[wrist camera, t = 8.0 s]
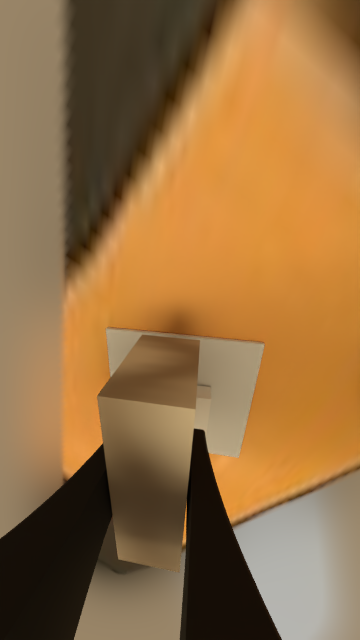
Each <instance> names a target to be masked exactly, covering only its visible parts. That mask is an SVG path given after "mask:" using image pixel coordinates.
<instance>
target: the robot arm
mask: <svg viewBox="0 0 360 640" xmlns="http://www.w3.org/2000/svg"><path fill="white" fill-rule="evenodd" d="M112 515H113V514H112V507H111V499H110V491H109V484H108V476H107V468H106V461H105V453H104V445H103V444H102V445H101V446H100V447H99V448H98V449H97V451H96V452H95V453H94V454H93V455H92V456H91V457H90V458H89V459H88V460H87V461H86V462H85V463H84V465H83V466H82V467H81V468H80V469H79V470H78V471H77V472H76V473H75V474H74V475H73V476H72V477H71V478H70V479H69V480H68V481H67V482H66V483H65V484H64V485H63V486H62V487H60V488H59V489H58V490H57V491H56V492H55V493H54V494H53V495H52V496H51V497H50V498H49V499H47V500H46V501H45V502H44V503H43V504H42V505H41V506H40V507H38V508H37V509H36V510H35V511H34V512H33V513H31V514H30V515H29V516H28V517H27V518H25V519H24V520H23V521H22V522H21V523H19V524H18V525H17V526H16V527H15V528H13V529H12V530H11V531H10V532H8V533H7V534H6V535H5V536H3V537H2V538H1V539H0V640H74V637H75V633H76V630H77V626H78V623H79V619H80V616H81V612H82V609H83V605H84V602H85V598H86V595H87V592H88V589H89V585H90V582H91V579H92V575H93V572H94V569H95V566H96V562H97V559H98V556H99V553H100V550H101V546H102V543H103V540H104V537H105V534H106V531H107V528H108V526H109V523H110V520H111V518H112ZM180 640H282V639H281V637H280V635H279V633H278V631H277V629H276V627H275V624H274V622H273V620H272V618H271V616H270V614H269V612H268V610H267V608H266V606H265V603H264V601H263V599H262V597H261V595H260V592H259V590H258V588H257V586H256V583H255V581H254V579H253V577H252V574H251V572H250V570H249V568H248V565H247V563H246V561H245V559H244V556H243V554H242V552H241V549H240V547H239V544H238V541H237V539H236V537H235V534H234V531H233V529H232V526H231V524H230V521H229V518H228V516H227V513H226V510H225V507H224V504H223V501H222V498H221V495H220V492H219V489H218V486H217V483H216V479H215V476H214V472H213V469H212V465H211V461H210V457H209V453H208V448H207V443H206V436H205V431H204V430H202V429H195V428H194V431H193V441H192V451H191V461H190V471H189V481H188V491H187V520H186V559H185V573H184V588H183V602H182V617H181V631H180Z"/></svg>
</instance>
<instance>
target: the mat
mask: <svg viewBox="0 0 360 640" xmlns="http://www.w3.org/2000/svg"><path fill="white" fill-rule="evenodd" d="M142 334H143V335H153V336H163V337H173V338H183V339H193V340H200V349H199V364H198V380H197V385H198V386H207V387H211V404H210V412H209V419H208V427H207V434H206V443H207V448H208V453H212V454H218V455H224V456H231V457H237V458H239V454H240V450H241V446H242V441H243V437H244V433H245V428H246V424H247V420H248V415H249V411H250V407H251V402H252V398H253V394H254V389H255V385H256V381H257V376H258V372H259V367H260V363H261V359H262V354H263V350H264V346H265V344H264V342H257V341H246V340H236V339H226V338H215V337H205V336H195V335H185V334H174V333H164V332H154V331H143V330H133V329H123V328H113V327H107V328H106V336H107V346H108V356H109V367H110V377H111V376H112V375H113V374H114V372H115V371H116V370H117V368H118V367H119V366H120V364H121V363H122V361H123V360H124V359H125V357H126V356H127V355H128V353H129V352H130V351H131V349H132V348H133V346H134V345H135V344H136V342H137V341H138V340H139V338H140V337H141V336H142Z"/></svg>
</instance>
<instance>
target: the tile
mask: <svg viewBox="0 0 360 640" xmlns="http://www.w3.org/2000/svg"><path fill="white" fill-rule="evenodd" d="M210 404H211V387H207V386H198V385H197V396H196V411H195V421H194V428H195V429H202V430H204V431H205V436H206V434H207V427H208V419H209V412H210Z"/></svg>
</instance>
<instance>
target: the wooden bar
mask: <svg viewBox="0 0 360 640" xmlns="http://www.w3.org/2000/svg"><path fill="white" fill-rule="evenodd" d="M199 349H200V340H193V339H183V338H173V337H163V336H153V335H143V334H142V336H141V337H140V338H139V340H138V341H137V342H136V344H135V345H134V346H133V348H132V349H131V351H130V352H129V353H128V355H127V356H126V357H125V359H124V360H123V361H122V363H121V364H120V366H119V367H118V368H117V370H116V371H115V372H114V374H113V375H112V376H111V378H110V379H109V381H108V382H107V383H106V385H105V386H104V387H103V389H102V390H101V391H100V393H99V394H98V396H97V399H98V407H99V414H100V422H101V430H102V437H103V445H104V453H105V461H106V468H107V476H108V484H109V491H110V499H111V507H112V514H113V522H114V530H115V538H116V545H117V553H118V559H120V560H125V561H129V562H134V563H138V564H143V565H147V566H152V567H157V568H161V569H166V570H170V571H175V572H179V570H180V559H181V550H182V540H183V531H184V521H185V511H186V501H187V491H188V481H189V471H190V461H191V451H192V441H193V431H194V421H195V411H196V396H197V380H198V364H199Z"/></svg>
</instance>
